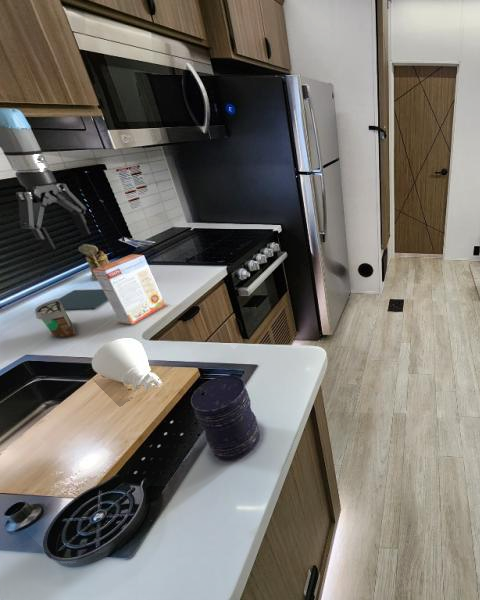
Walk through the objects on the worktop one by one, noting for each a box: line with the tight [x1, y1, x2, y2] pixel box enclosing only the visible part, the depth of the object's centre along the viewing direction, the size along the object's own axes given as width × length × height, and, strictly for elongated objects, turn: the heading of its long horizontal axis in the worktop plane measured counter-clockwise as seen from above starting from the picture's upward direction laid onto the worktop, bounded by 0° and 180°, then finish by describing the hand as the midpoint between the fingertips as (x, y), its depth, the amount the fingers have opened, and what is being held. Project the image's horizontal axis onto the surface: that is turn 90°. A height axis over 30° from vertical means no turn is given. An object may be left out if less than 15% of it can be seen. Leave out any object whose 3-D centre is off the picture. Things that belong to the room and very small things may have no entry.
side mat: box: [58, 288, 109, 311], centre depth 131 cm, size 20×16×1 cm
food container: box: [34, 298, 76, 339], centre depth 108 cm, size 12×6×10 cm, turn 45°
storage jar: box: [190, 375, 261, 462], centre depth 69 cm, size 10×10×15 cm
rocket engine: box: [91, 337, 164, 393], centre depth 87 cm, size 12×12×18 cm
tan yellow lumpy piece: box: [77, 243, 111, 281], centre depth 145 cm, size 9×14×18 cm, turn 33°
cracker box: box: [93, 253, 166, 325], centre depth 116 cm, size 14×6×21 cm, turn 165°
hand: (69, 241), depth 105 cm, fingers open, 13 cm apart
